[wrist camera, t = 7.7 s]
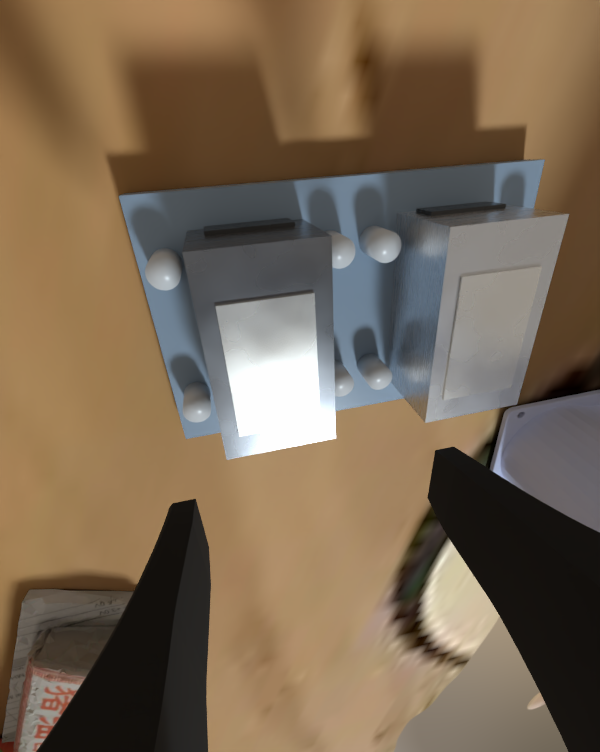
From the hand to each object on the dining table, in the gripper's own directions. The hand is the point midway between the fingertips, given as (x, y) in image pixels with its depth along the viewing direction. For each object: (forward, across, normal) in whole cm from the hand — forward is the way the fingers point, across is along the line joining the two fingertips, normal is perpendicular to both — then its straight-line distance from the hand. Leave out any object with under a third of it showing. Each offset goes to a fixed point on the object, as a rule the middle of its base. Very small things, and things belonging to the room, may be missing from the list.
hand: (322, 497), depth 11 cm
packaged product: (+10, +16, +23) cm, 30 cm away
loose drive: (+8, +1, -3) cm, 9 cm away
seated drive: (+8, -8, -2) cm, 12 cm away
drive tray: (+9, -4, -2) cm, 10 cm away
